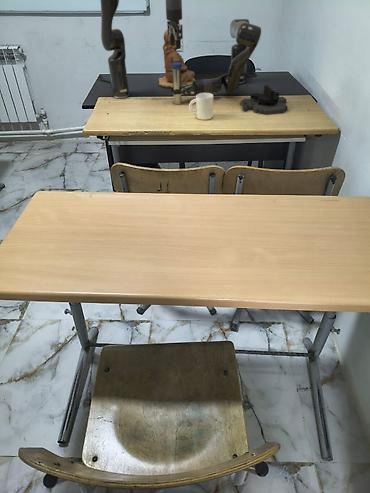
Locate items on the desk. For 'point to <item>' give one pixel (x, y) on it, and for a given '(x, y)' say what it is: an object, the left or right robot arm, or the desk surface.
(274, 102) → the abstract sculpture
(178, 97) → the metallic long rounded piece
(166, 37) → the sculpture
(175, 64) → the lid
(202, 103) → the mug
